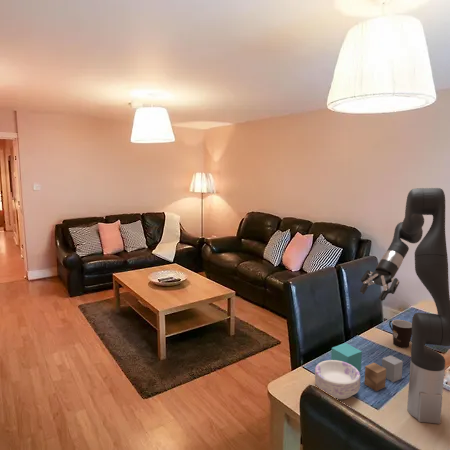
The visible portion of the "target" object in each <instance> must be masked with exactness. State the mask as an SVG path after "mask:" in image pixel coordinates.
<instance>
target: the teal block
mask: <svg viewBox="0 0 450 450" xmlns="http://www.w3.org/2000/svg"><path fill="white" fill-rule="evenodd" d="M330 355H331V356H330V360H338V361H343V362H346V363H349V364H351V365H352V366H354V367H355V368H356V369H357V370H358V371H359V372H361V371H362V357H363V356H362V355H363V351H362V350H360V349H358V348H356V347H355V346H352V345H350V344H349V343H347V342H344V343H341V344H338V345H335V346H333V347H331V354H330Z"/></svg>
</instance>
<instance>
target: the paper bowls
mask: <svg viewBox="0 0 450 450" xmlns="http://www.w3.org/2000/svg"><path fill="white" fill-rule="evenodd" d="M314 381H315V385H316V387H318V388H319V389H320V390H321V389H322V390H324V391H325V392H327V393H328V394H330V395H332V396H333V397H335V398H337V399H336V400H346V399H349V398H351V397H352V396H355V395H356V394H357V393H358V392H359V391H360V389H361V374H360V371H358V370H357V369H356V368H355V367H354V366H352V365H351V364H349V363H346V362H343V361H338V360H331V359H327V360H322V361H320V362H318V363H317V364H316V366H315V367H314ZM322 390H321V391H322ZM335 398H334V399H335Z"/></svg>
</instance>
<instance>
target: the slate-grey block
mask: <svg viewBox="0 0 450 450" xmlns="http://www.w3.org/2000/svg"><path fill="white" fill-rule="evenodd" d="M381 360H382V361H381V366H382V367H384V368H385V369H386V380H388V381H391V382H392V383H396V382H398V381H400V380H401V379H402V377H403V363H404V360H401V359H399V358H398V357H395V356H393V355H391V354H390V355H388V356H385V357H383V358H382V359H381Z"/></svg>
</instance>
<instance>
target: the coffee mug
mask: <svg viewBox="0 0 450 450" xmlns="http://www.w3.org/2000/svg"><path fill="white" fill-rule="evenodd" d="M388 325H389V328H390V330H391V332H392V341H393V345H394V346H395V347H396V348H400V349H408V348H410V346H411V341H412V322H410V321H408V320H404V319H394V320H389V322H388Z"/></svg>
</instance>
